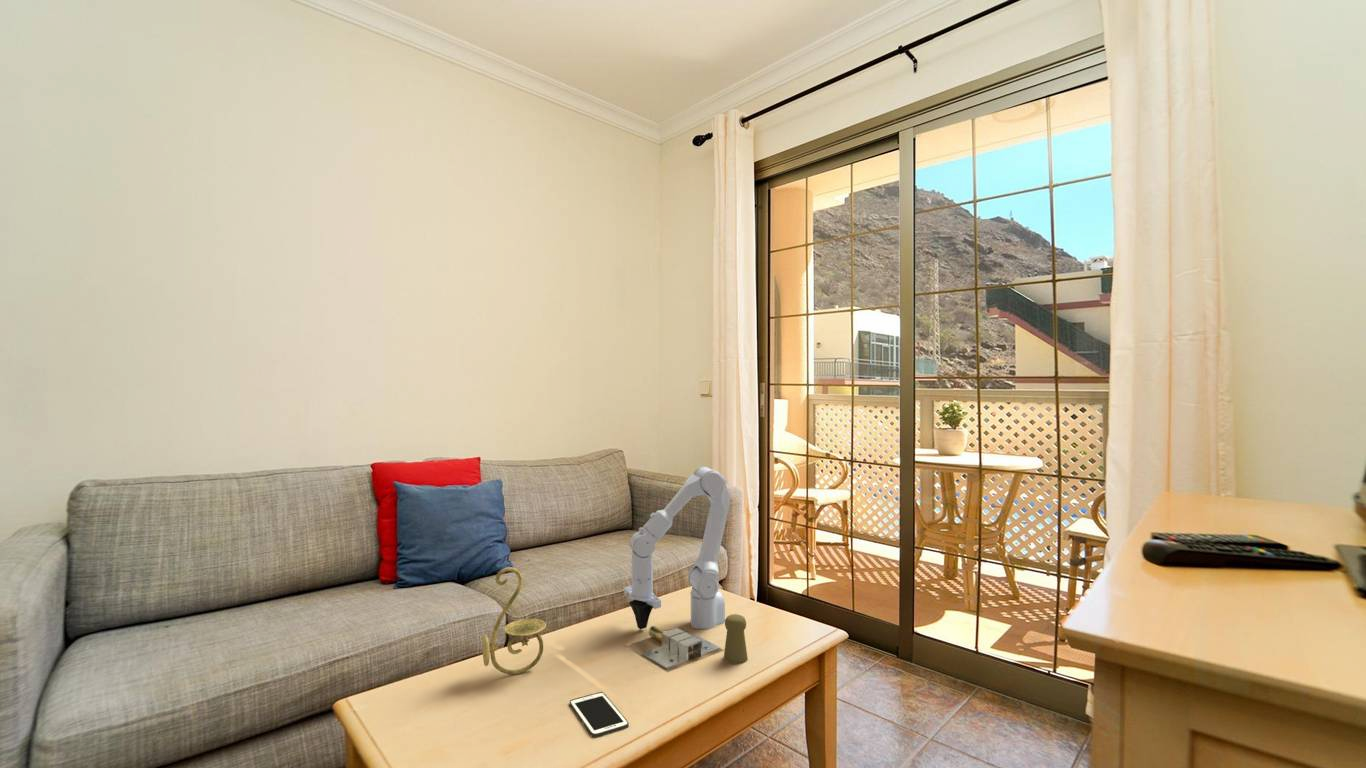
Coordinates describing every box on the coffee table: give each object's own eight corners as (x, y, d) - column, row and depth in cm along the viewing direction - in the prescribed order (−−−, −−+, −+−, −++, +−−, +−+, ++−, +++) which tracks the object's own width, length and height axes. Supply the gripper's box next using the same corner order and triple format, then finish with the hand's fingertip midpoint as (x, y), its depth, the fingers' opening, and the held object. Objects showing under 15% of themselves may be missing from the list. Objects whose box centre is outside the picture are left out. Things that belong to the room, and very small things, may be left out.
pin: (648, 638, 154) (648, 627, 154) (657, 635, 156) (657, 624, 156) (672, 650, 146) (672, 639, 146) (680, 647, 148) (680, 636, 148)
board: (679, 630, 161) (679, 627, 161) (724, 653, 147) (724, 650, 147) (624, 649, 149) (624, 645, 149) (667, 675, 135) (667, 671, 135)
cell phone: (602, 695, 127) (602, 690, 127) (630, 729, 115) (630, 724, 115) (568, 704, 124) (568, 700, 124) (592, 740, 111) (592, 735, 111)
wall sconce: (487, 690, 129) (487, 576, 129) (481, 672, 137) (481, 565, 138) (550, 676, 135) (550, 567, 135) (540, 659, 144) (540, 557, 144)
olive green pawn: (719, 664, 141) (719, 618, 141) (729, 654, 146) (728, 609, 147) (742, 669, 138) (742, 622, 138) (751, 659, 144) (751, 614, 144)
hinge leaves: (694, 636, 155) (694, 622, 155) (720, 649, 147) (720, 634, 147) (642, 654, 144) (642, 639, 144) (666, 669, 137) (666, 653, 137)
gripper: (615, 573, 162) (615, 623, 162) (645, 587, 151) (645, 640, 151) (636, 569, 167) (636, 616, 167) (667, 581, 155) (667, 633, 155)
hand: (642, 627), depth 159 cm, fingers closed
